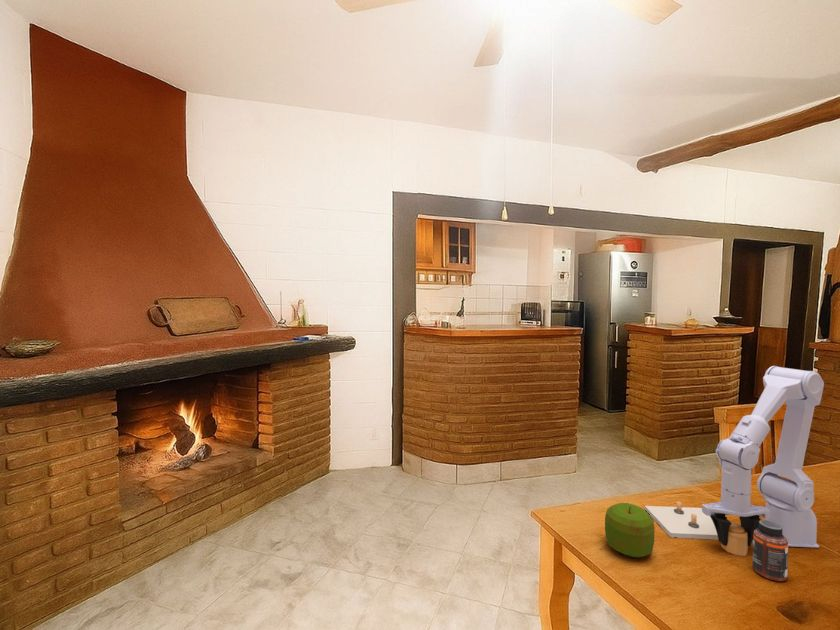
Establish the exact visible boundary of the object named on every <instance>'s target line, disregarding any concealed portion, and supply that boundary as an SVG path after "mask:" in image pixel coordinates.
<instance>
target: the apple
mask: <svg viewBox="0 0 840 630" xmlns="http://www.w3.org/2000/svg"><path fill="white" fill-rule="evenodd" d="M654 522H655V520H654V519H653V518H652V517H651V516H650V515H649V514H648V513H647V512H646V511H645V509H644V508H642V507H640V506H638V505H636V504H633V503H629V502H619V503H615V504H613V505H611V506H609V507H608V508H607V509H606V513H605V516H604V530H605V538H606V539H605V540H606V542H607V544H608V545H609V546H610V547H611V548H612V549H614V550H615V551H617V552H619V553H621V554H622V555H624V556H627V557H629V558H634V559H638V558H643V557H645V556H649V555H650V554H651V553H653V549H654V544H655V523H654Z"/></svg>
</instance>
